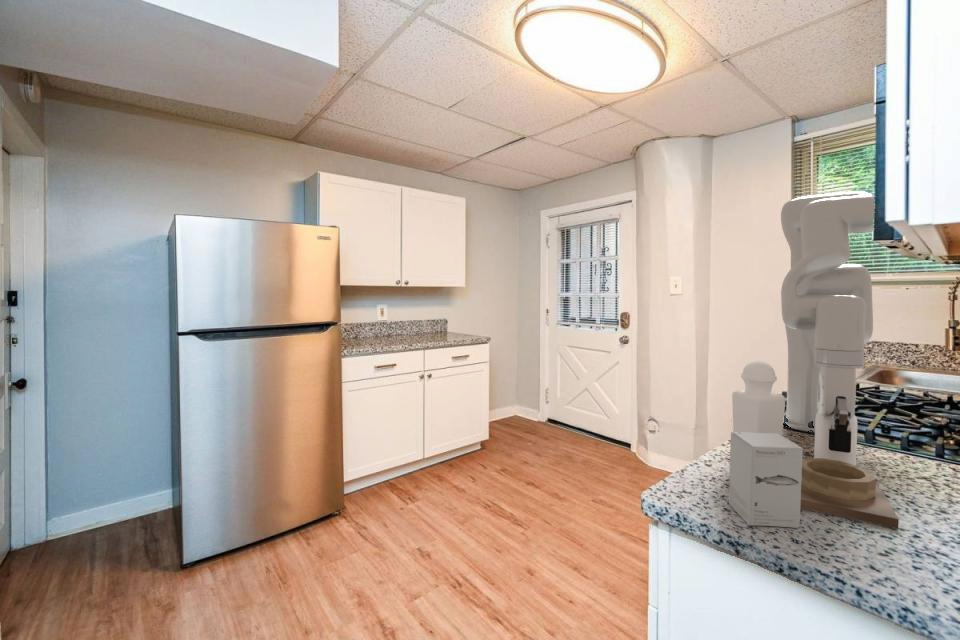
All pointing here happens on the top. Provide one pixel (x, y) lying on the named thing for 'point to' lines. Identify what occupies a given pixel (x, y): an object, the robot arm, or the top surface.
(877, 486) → the mount board
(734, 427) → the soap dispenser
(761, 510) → the supplement box
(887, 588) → the top surface
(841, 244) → the robot arm
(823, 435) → the can
